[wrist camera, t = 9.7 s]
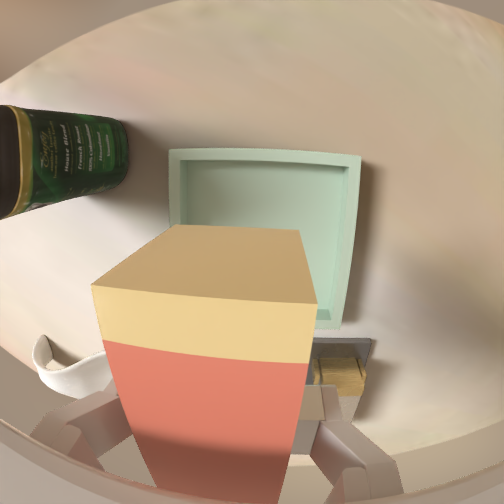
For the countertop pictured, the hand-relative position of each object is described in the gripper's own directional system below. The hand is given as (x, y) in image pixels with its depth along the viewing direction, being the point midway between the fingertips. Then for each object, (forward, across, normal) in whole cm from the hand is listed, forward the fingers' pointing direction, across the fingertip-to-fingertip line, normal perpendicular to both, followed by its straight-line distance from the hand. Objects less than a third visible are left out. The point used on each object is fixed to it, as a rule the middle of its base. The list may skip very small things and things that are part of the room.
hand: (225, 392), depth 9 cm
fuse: (+2, 0, 0) cm, 2 cm away
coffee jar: (+21, +18, -8) cm, 29 cm away
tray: (+20, 0, 0) cm, 20 cm away
